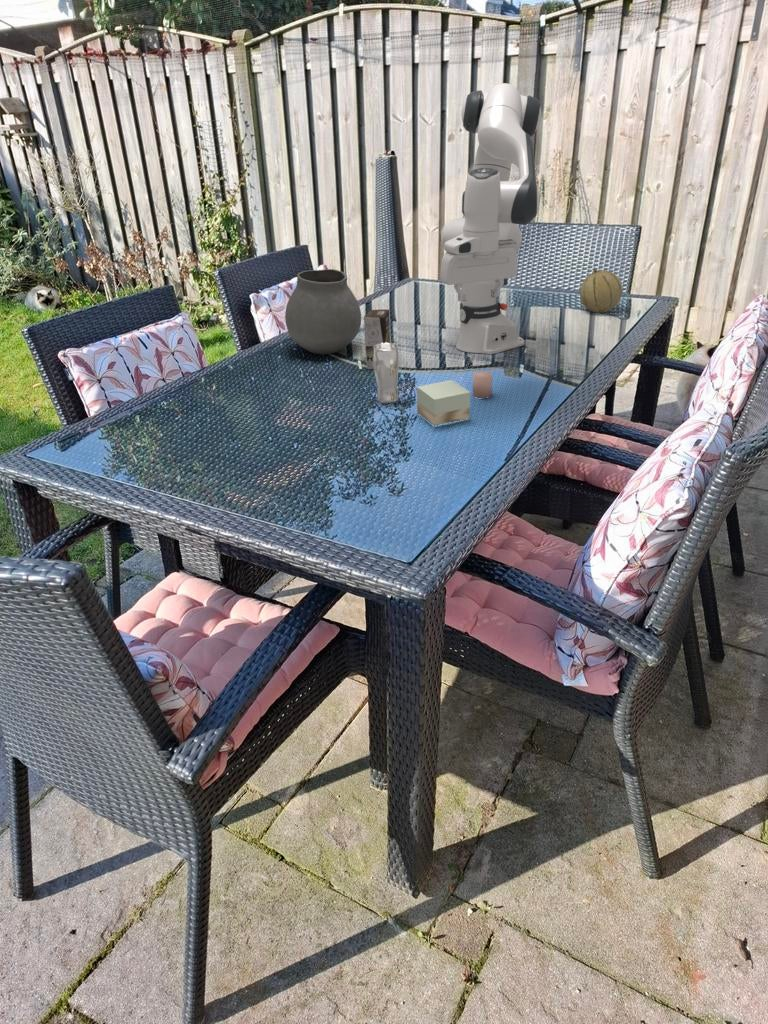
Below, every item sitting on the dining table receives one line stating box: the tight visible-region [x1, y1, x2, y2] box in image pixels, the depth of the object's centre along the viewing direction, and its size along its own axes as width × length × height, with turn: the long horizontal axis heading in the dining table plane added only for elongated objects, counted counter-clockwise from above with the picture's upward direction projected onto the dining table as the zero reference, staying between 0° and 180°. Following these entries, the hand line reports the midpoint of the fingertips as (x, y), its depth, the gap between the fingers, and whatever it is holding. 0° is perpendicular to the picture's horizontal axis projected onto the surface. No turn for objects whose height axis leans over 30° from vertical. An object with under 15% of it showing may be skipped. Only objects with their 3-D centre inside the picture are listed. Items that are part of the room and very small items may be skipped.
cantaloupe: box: [579, 269, 623, 314], centre depth 253 cm, size 15×15×15 cm
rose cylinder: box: [472, 371, 493, 399], centre depth 190 cm, size 5×5×6 cm
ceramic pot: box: [284, 268, 362, 355], centre depth 226 cm, size 24×24×25 cm
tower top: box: [416, 379, 471, 415], centre depth 178 cm, size 10×10×4 cm
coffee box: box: [363, 309, 392, 370], centre depth 214 cm, size 9×6×16 cm
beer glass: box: [373, 342, 400, 405], centre depth 189 cm, size 7×7×15 cm
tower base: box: [416, 402, 471, 426], centre depth 180 cm, size 10×10×4 cm
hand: (478, 299), depth 179 cm, fingers open, 8 cm apart
